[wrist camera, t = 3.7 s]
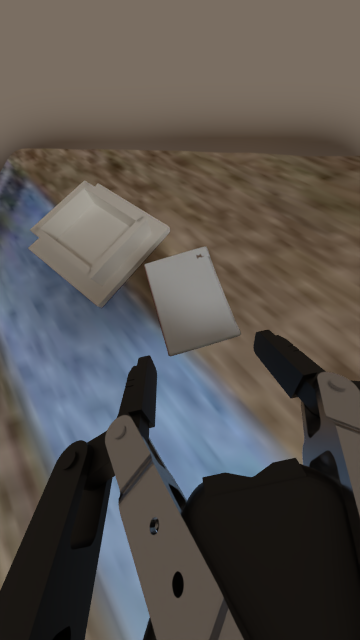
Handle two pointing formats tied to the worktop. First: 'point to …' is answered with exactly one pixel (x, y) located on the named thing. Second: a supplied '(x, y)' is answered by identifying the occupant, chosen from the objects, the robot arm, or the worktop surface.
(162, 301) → the small box
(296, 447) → the worktop surface
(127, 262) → the off-white tray
